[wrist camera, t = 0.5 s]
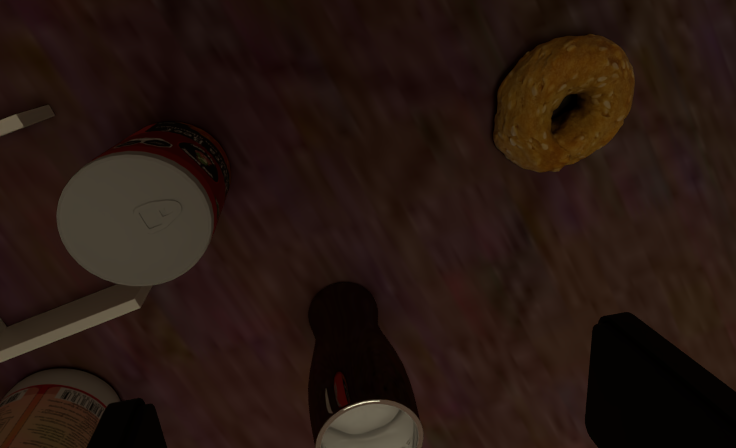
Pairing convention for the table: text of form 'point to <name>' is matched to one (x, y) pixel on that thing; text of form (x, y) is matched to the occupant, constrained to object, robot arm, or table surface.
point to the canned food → (146, 205)
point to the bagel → (547, 90)
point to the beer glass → (357, 376)
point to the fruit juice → (54, 409)
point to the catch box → (70, 316)
